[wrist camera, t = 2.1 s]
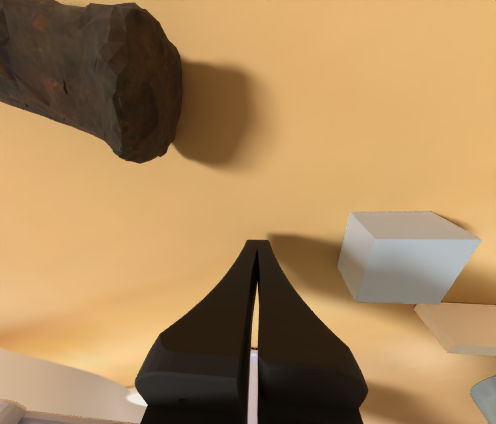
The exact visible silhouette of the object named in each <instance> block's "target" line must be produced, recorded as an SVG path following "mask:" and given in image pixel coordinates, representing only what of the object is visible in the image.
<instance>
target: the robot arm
mask: <svg viewBox="0 0 496 424" xmlns="http://www.w3.org/2000/svg"><path fill="white" fill-rule="evenodd" d="M257 281H258V296H259V329H258V350H251V334H252V319H253V311H254V304H255V296H256V289H257ZM135 387H136V389H137V391H138V392H139V394H140V395H141V396H142V398H143V399H144V400H145V402H146V403H147V404H148V406H147V408H146V411H145V413H144V416H143V418H142V421H141V423H140V424H363V421H362V418H361V415H360V412H359V407H360V406H361V404H362V403H363V401H364V400H365V398H366V396H367V393H368V388H367V385H366V382H365V379H364V377H363V374H362V372H361V370H360V368H359V366H358V364H357V362H356V360H355V358H354V356H353V354H352V352H351V351H350V349H349V347H348V346H347V345H346V344H344V343H343V342H342V341H341V340H340V339H339V338H338V337H337V336H336V335H335V334H334V333H333V332H332V331H331V330H330V329H329V328H328V327H327V326H326V325H325V324H324V323H323V322H322V321H321V320H320V319H319V318H318V317H317V316H316V315H315V314H314V312H313V311H312V310H311V309H310V308H309V307H308V305H307V304H306V303H305V302H304V301H303V300H302V298H301V297H300V296H299V295H298V293H297V292H296V291H295V289H294V288H293V286H292V285H291V284H290V282H289V281H288V279H287V278H286V276H285V274H284V273H283V271H282V269H281V267H280V266H279V264H278V262H277V260H276V258H275V256H274V253H273V251H272V248H271V245H270V242H269V241H268V240H247V241H246V243H245V246H244V248H243V249H242V251H241V253H240V255H239V256H238V258H237V259H236V261H235V263H234V264H233V265H232V267H231V268H230V269H229V271H228V272H227V274H226V275H225V276H224V277H223V279H222V280H221V281H220V282H219V283H218V284H217V285H216V287H215V288H214V289H213V290H212V291H211V292H210V293H209V294H208V295H207V296H206V297H205V298H204V299H203V300H202V301H201V302H199V303H198V304H197V305H196V306H195V307H194V308H192V309H191V310H190V311H189V312H188V313H187V314H186V315H184V316H183V317H182V318H180V319H179V320H178V321H177V322H175V323H174V324H173V325H171V326H170V327H169V328H167V329H166V330H165V331H163V332H162V333H160V335H159V336H158V338H157V339H156V341H155V343H154V344H153V346H152V348H151V349H150V351H149V353H148V355H147V357H146V359H145V361H144V363H143V365H142V367H141V369H140V371H139V373H138V375H137V377H136V379H135ZM0 424H137V423H129V422H121V421H112V420H104V419H95V418H87V417H78V416H70V415H61V414H53V413H45V412H36V411H28V410H27V408H26V407H24V406H23V405H21V404H19V403H17V402H14V401H11V400H5V399H0Z"/></svg>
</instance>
